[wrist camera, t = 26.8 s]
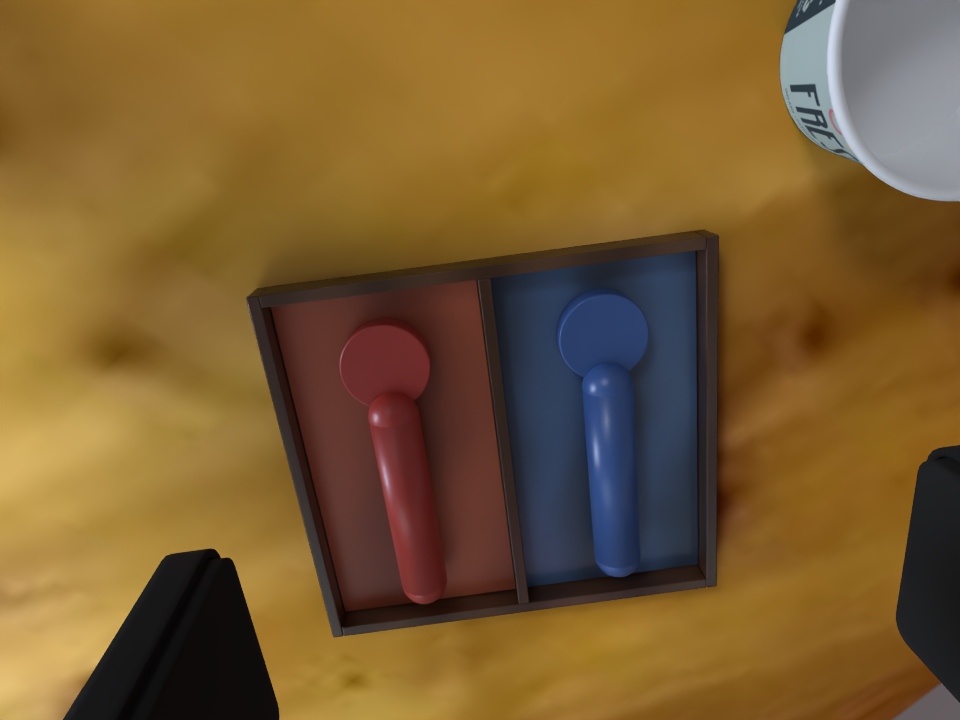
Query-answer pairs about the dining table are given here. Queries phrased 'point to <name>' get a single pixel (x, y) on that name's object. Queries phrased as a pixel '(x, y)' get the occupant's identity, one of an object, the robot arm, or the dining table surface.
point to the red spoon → (399, 444)
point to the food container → (880, 87)
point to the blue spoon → (608, 416)
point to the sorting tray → (501, 428)
